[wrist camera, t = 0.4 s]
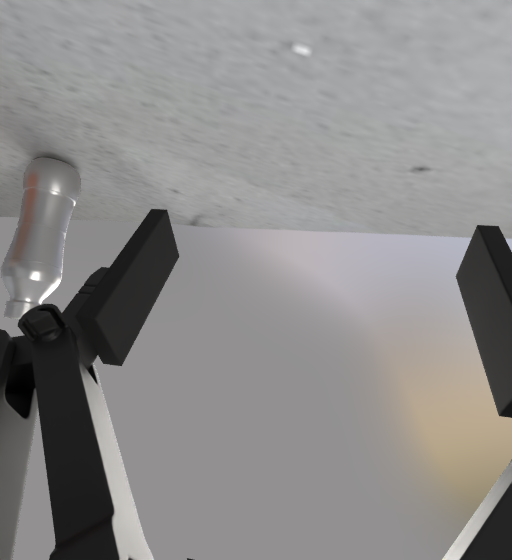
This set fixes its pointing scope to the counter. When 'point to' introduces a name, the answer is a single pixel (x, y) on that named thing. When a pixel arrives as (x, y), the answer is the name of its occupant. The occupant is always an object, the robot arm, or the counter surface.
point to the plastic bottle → (39, 234)
